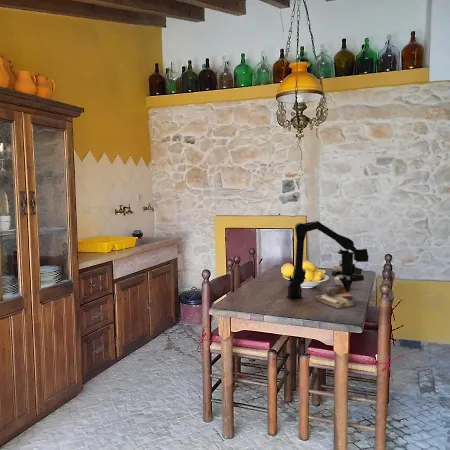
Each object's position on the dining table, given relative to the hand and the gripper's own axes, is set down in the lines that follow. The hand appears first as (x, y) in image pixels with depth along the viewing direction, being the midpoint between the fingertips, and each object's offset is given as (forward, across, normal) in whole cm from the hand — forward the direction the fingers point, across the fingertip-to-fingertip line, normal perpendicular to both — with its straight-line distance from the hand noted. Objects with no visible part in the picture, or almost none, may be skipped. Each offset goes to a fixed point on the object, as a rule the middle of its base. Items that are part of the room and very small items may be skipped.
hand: (347, 291), depth 229 cm
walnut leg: (+1, +3, +4) cm, 5 cm away
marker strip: (+3, +3, +1) cm, 4 cm away
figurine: (+3, +24, -16) cm, 29 cm away
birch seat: (+3, -4, +12) cm, 13 cm away
